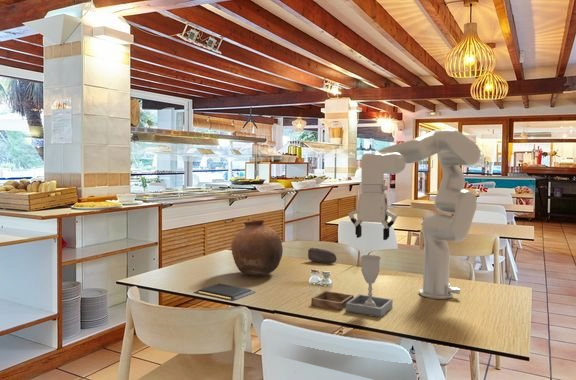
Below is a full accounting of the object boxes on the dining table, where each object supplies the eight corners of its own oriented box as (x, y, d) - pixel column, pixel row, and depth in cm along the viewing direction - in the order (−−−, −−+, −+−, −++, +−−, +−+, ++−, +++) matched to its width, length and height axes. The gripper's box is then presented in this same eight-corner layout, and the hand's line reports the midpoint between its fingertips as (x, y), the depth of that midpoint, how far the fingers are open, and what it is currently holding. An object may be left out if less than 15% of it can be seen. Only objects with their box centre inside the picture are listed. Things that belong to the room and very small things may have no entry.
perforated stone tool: (338, 263, 241) (338, 249, 241) (334, 265, 237) (334, 251, 236) (311, 260, 249) (311, 246, 248) (307, 261, 244) (307, 248, 244)
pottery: (281, 281, 205) (282, 223, 204) (227, 280, 206) (227, 222, 204) (283, 268, 228) (283, 216, 226) (234, 268, 229) (234, 215, 227)
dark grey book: (256, 289, 188) (231, 298, 176) (256, 293, 188) (231, 303, 176) (218, 281, 199) (192, 289, 187) (218, 285, 200) (192, 294, 187)
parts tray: (392, 307, 171) (392, 299, 170) (381, 318, 160) (381, 309, 159) (358, 302, 177) (359, 294, 177) (345, 311, 166) (346, 303, 166)
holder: (353, 301, 177) (353, 295, 177) (341, 310, 167) (341, 303, 167) (324, 297, 183) (325, 290, 183) (311, 305, 173) (311, 298, 173)
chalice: (356, 309, 167) (357, 257, 166) (363, 303, 173) (363, 254, 172) (377, 312, 164) (377, 259, 162) (382, 306, 170) (383, 256, 168)
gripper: (400, 189, 164) (399, 238, 166) (352, 187, 173) (352, 234, 174) (393, 190, 158) (393, 242, 159) (344, 189, 166) (344, 238, 168)
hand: (372, 238), depth 167 cm, fingers open, 9 cm apart
